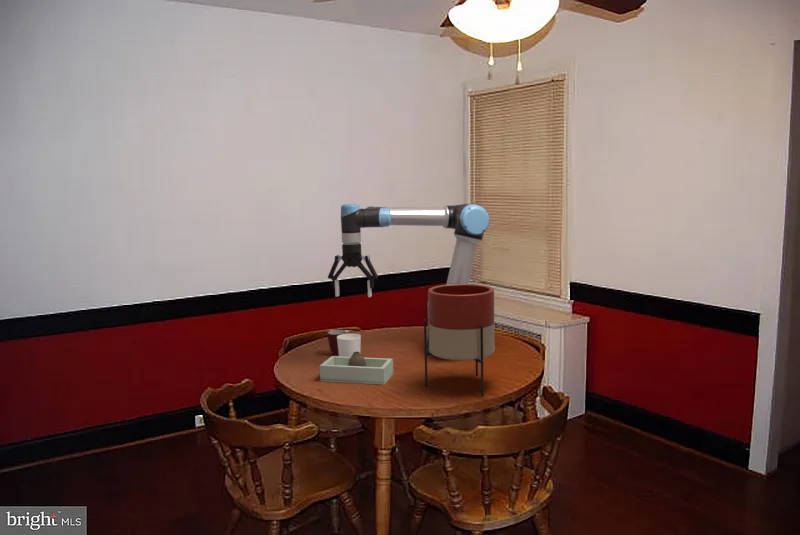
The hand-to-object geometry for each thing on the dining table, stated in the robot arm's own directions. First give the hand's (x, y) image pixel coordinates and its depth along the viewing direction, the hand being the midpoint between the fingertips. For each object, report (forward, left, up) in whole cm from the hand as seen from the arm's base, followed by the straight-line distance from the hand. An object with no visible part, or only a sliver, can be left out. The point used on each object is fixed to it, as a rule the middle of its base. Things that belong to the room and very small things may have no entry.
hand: (353, 296), depth 252 cm
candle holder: (+3, -1, -29) cm, 29 cm away
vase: (-5, +14, -28) cm, 32 cm away
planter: (-45, +17, -29) cm, 56 cm away
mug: (+12, -15, -29) cm, 35 cm away
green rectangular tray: (-5, +14, -29) cm, 32 cm away
